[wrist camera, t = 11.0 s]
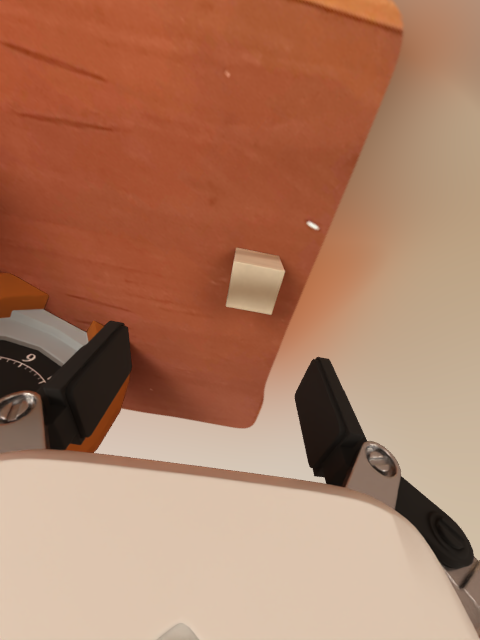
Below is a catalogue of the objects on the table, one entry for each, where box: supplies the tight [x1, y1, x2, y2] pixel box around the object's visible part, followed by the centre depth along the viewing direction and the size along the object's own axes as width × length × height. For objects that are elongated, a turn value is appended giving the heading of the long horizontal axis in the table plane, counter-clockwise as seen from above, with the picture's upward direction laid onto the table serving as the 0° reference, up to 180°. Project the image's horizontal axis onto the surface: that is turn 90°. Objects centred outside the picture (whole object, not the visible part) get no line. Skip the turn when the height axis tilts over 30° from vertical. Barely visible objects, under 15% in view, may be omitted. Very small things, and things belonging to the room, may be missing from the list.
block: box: [226, 248, 285, 315], centre depth 21 cm, size 4×4×4 cm
